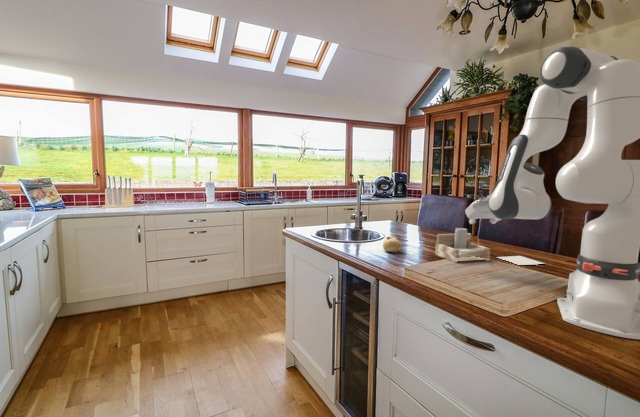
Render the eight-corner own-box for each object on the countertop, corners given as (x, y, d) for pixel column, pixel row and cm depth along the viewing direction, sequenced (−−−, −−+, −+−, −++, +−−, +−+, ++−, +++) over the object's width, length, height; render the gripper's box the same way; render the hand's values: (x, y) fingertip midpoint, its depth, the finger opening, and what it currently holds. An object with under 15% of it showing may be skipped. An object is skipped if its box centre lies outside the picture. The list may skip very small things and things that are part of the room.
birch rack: (489, 260, 134) (491, 239, 133) (455, 262, 131) (456, 240, 130) (466, 252, 148) (467, 232, 147) (435, 254, 144) (436, 233, 143)
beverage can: (451, 256, 140) (453, 228, 139) (456, 254, 144) (457, 227, 142) (463, 258, 137) (465, 230, 136) (467, 256, 140) (469, 228, 139)
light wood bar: (484, 260, 134) (485, 249, 134) (458, 262, 131) (459, 251, 131) (477, 258, 138) (478, 247, 138) (451, 259, 135) (452, 248, 135)
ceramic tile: (545, 264, 129) (545, 263, 129) (519, 266, 126) (519, 265, 126) (520, 257, 141) (520, 255, 141) (496, 258, 138) (496, 257, 138)
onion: (394, 249, 152) (395, 234, 152) (404, 253, 145) (405, 237, 144) (379, 250, 150) (380, 235, 149) (388, 254, 142) (389, 238, 142)
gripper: (482, 206, 112) (461, 229, 123) (531, 206, 117) (507, 228, 128) (474, 192, 116) (454, 216, 127) (521, 192, 121) (499, 215, 131)
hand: (481, 222), depth 127 cm, fingers open, 8 cm apart
